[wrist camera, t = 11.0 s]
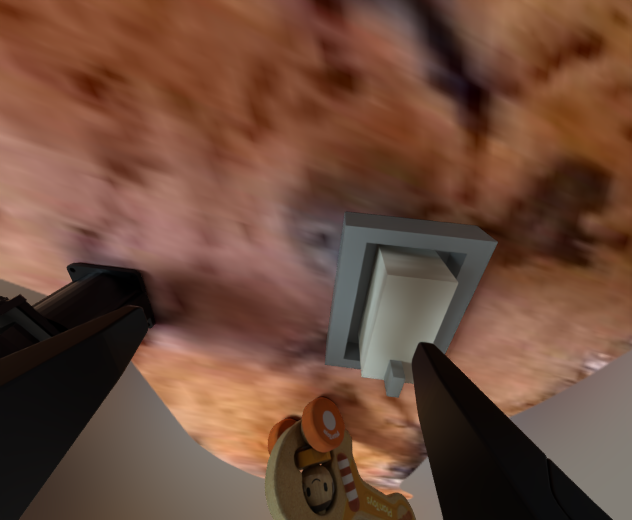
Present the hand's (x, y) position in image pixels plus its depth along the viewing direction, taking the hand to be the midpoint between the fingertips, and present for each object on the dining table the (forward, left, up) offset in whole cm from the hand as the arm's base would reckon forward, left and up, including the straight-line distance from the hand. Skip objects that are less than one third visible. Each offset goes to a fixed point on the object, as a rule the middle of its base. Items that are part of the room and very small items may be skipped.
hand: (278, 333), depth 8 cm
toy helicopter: (+6, -28, -12) cm, 31 cm away
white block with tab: (+7, -6, -11) cm, 14 cm away
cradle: (+7, -6, -12) cm, 15 cm away
